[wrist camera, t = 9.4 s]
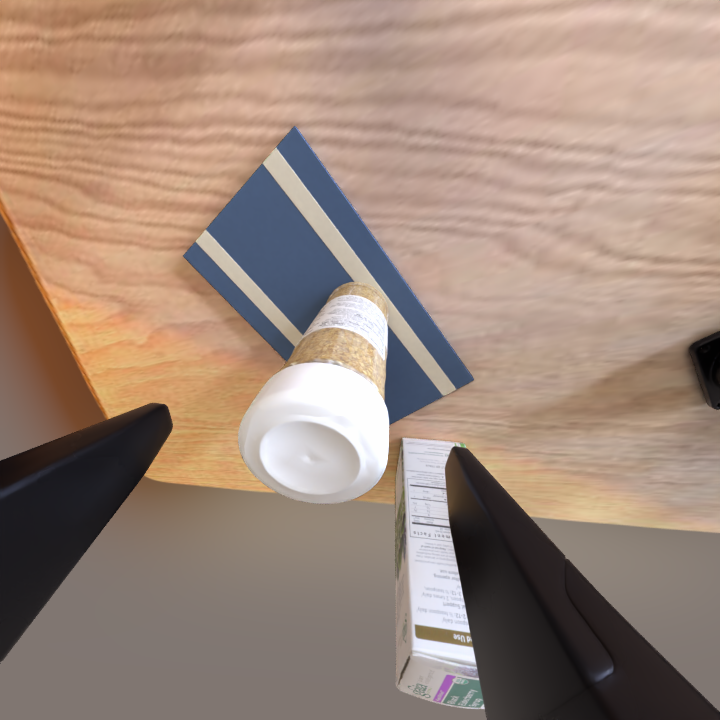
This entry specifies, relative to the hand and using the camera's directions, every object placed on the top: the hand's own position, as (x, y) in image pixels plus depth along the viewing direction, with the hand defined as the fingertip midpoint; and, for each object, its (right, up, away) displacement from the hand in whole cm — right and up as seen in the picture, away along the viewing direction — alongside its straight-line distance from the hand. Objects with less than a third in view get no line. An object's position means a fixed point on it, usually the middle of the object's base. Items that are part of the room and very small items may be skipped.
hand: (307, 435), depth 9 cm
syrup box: (+8, -7, +18) cm, 21 cm away
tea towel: (0, +5, +12) cm, 13 cm away
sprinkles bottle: (+1, +6, +11) cm, 13 cm away
